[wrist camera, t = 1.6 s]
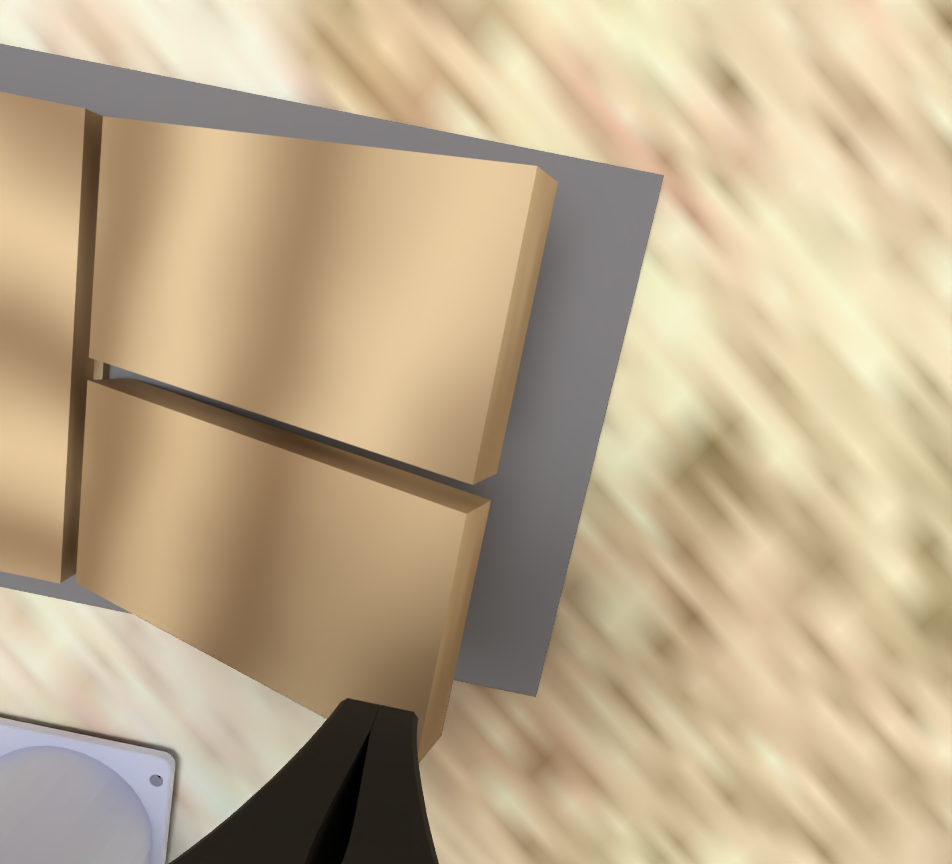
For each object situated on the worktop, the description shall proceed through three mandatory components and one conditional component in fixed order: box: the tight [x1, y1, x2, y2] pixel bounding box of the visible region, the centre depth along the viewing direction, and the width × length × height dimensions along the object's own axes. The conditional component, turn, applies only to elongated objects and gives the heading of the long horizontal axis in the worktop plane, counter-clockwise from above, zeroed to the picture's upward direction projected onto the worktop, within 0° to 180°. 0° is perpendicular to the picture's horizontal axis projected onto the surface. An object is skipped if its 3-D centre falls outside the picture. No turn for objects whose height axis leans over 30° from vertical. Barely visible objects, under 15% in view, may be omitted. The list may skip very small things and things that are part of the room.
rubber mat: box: [0, 44, 664, 697], centre depth 21 cm, size 18×24×1 cm
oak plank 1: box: [89, 116, 558, 485], centre depth 16 cm, size 13×7×1 cm, turn 79°
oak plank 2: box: [76, 378, 491, 762], centre depth 18 cm, size 13×7×1 cm, turn 79°
